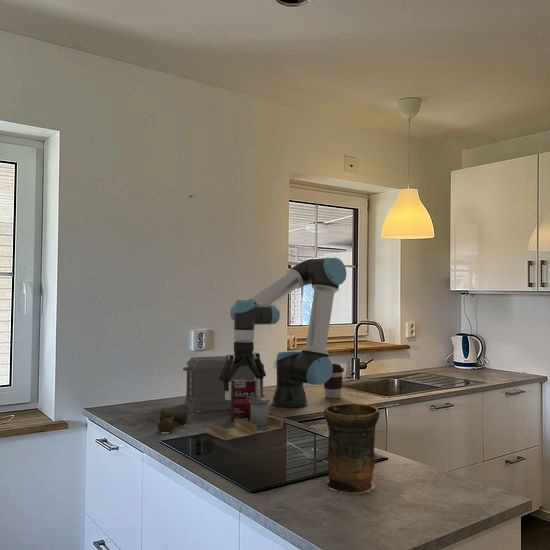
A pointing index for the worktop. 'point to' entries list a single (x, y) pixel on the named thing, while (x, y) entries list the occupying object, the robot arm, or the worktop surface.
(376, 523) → the worktop surface
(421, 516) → the worktop surface
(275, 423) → the oak rack
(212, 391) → the toaster
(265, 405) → the light grey cylinder
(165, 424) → the kendama
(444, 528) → the worktop surface
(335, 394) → the coffee cup
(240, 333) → the robot arm
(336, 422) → the vessel
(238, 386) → the supplement box
